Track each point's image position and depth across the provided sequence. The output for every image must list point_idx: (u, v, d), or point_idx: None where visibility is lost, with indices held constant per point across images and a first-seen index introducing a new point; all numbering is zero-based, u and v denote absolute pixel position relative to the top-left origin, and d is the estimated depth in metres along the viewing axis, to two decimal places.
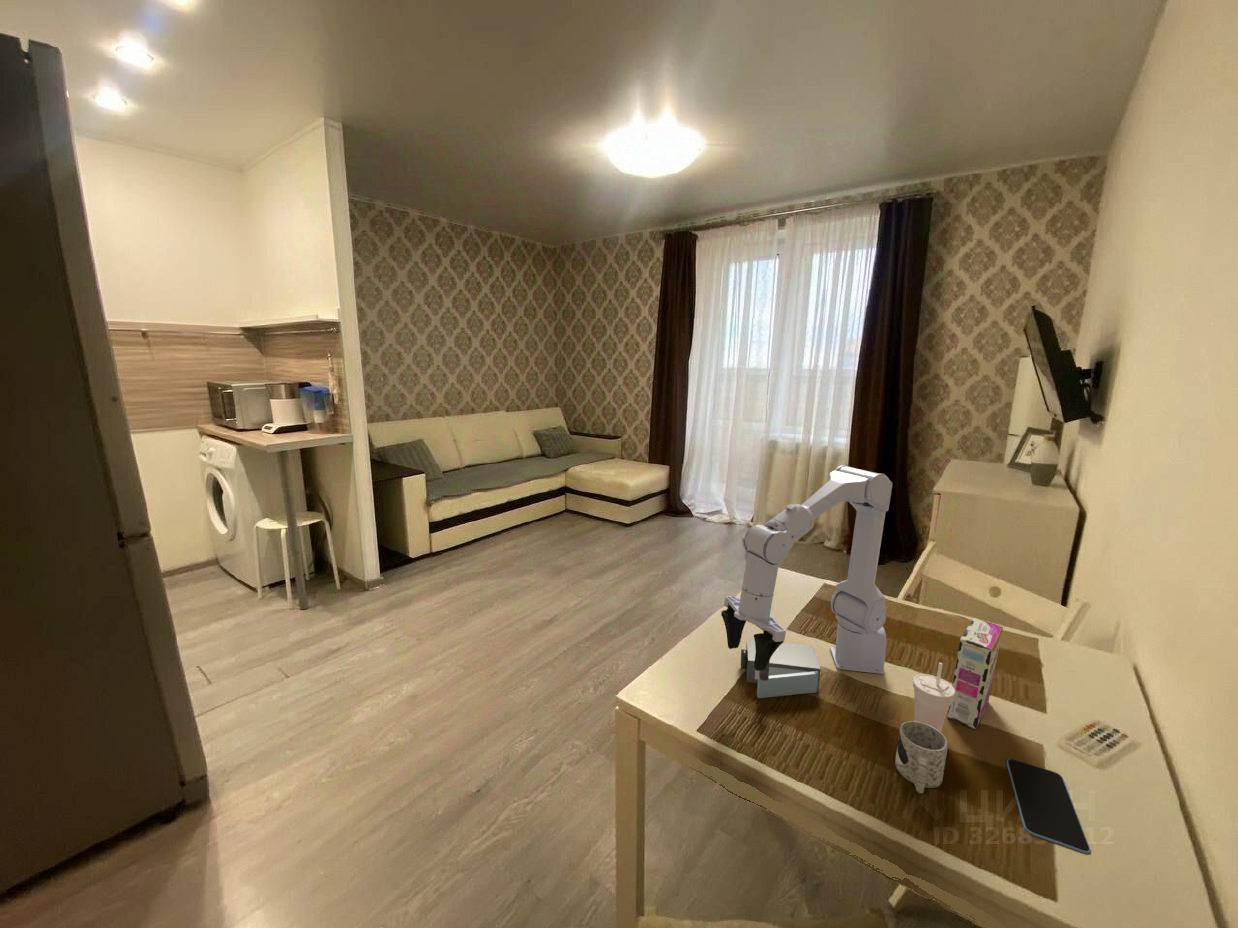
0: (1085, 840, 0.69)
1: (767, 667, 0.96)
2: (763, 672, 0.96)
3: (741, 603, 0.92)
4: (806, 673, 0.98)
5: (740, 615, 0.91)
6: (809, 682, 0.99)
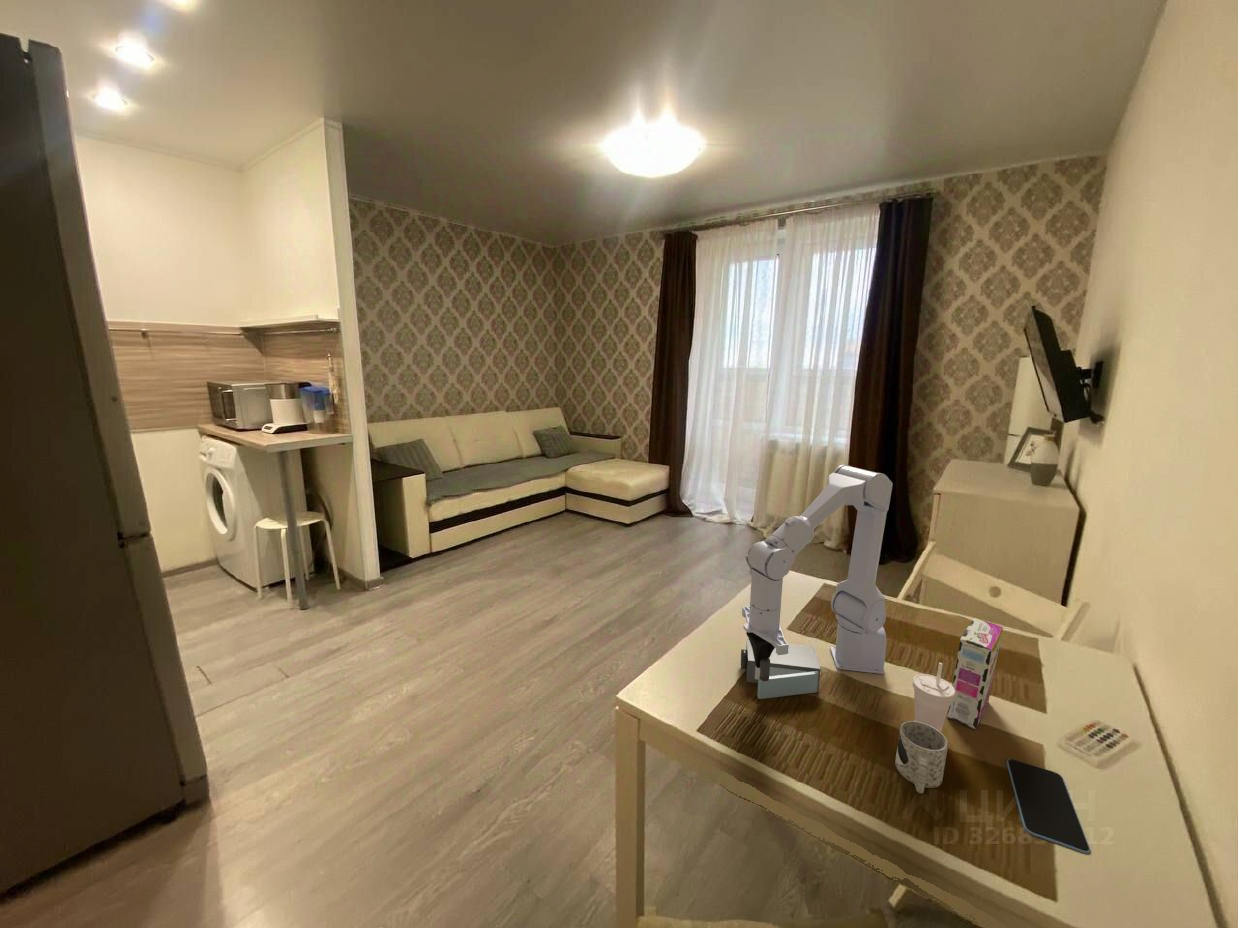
0: (1085, 840, 0.69)
1: (768, 668, 0.96)
2: (764, 673, 0.96)
3: (749, 616, 0.96)
4: (806, 674, 0.98)
5: (748, 627, 0.95)
6: (809, 682, 0.99)
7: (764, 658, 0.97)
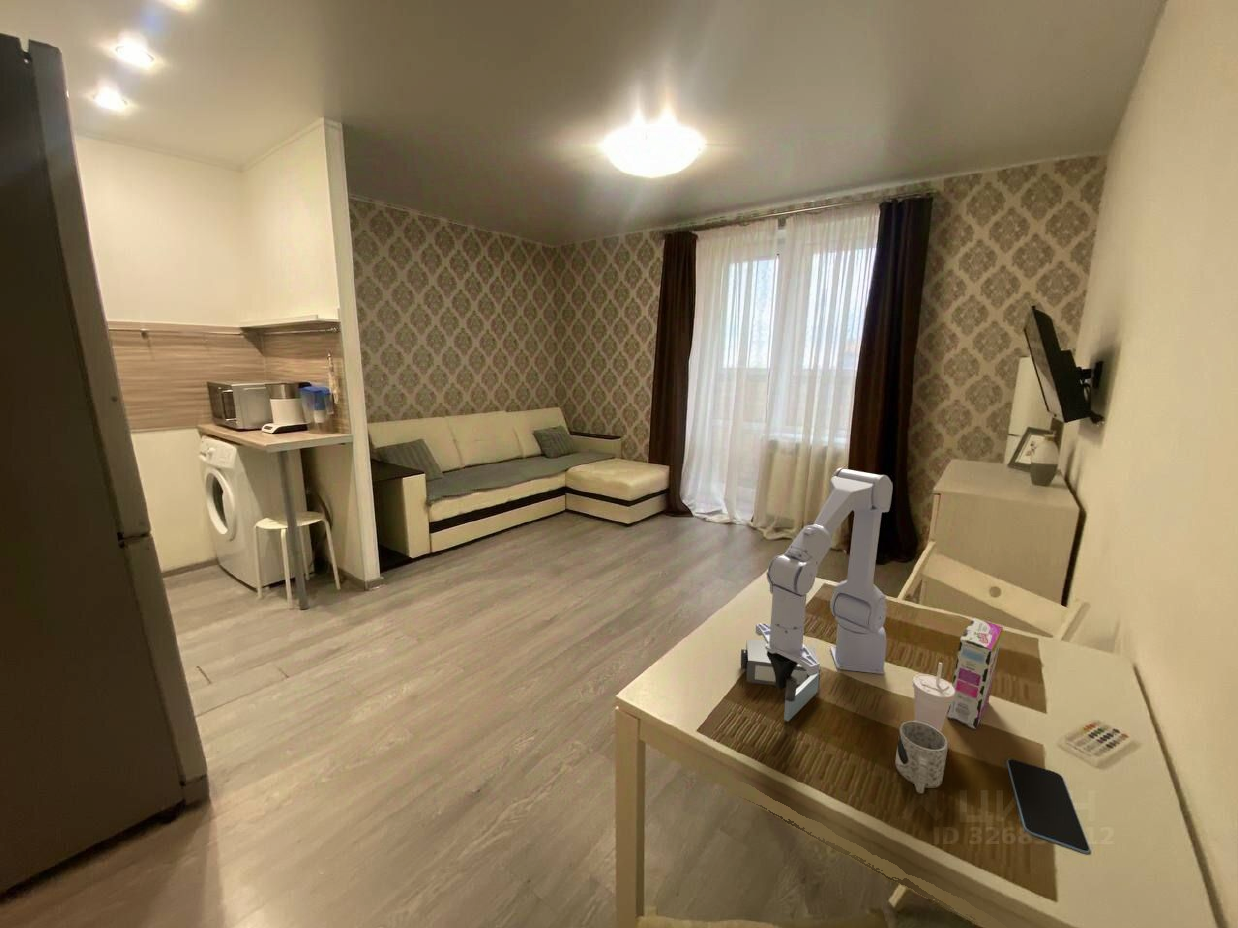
0: (1085, 840, 0.69)
1: None
2: (793, 693, 0.90)
3: (771, 635, 0.90)
4: (813, 677, 0.97)
5: (771, 648, 0.89)
6: (815, 684, 0.98)
7: (789, 677, 0.91)
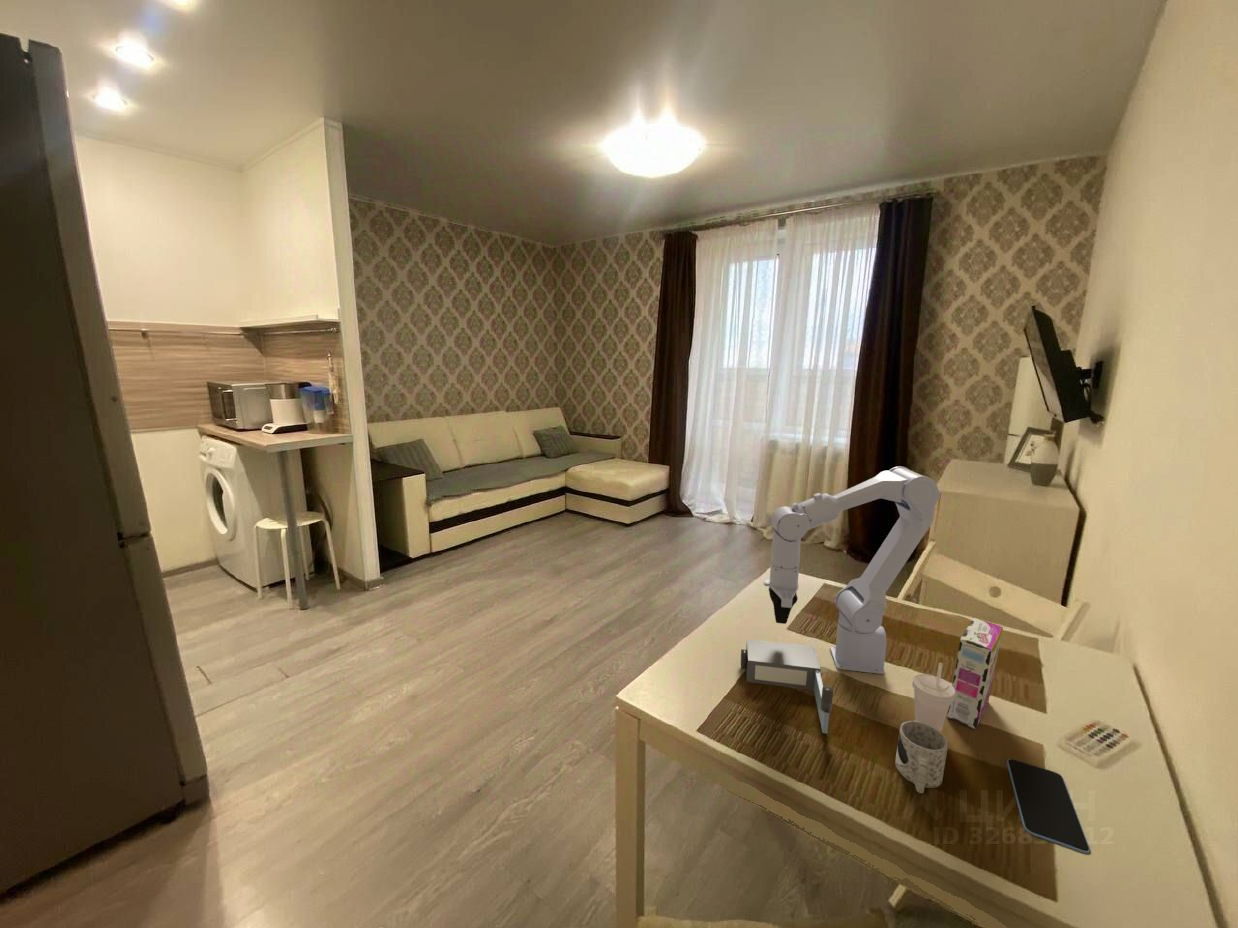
0: (1085, 840, 0.69)
1: None
2: (831, 703, 0.88)
3: None
4: (820, 678, 0.97)
5: (766, 582, 1.07)
6: None
7: (824, 688, 0.88)
